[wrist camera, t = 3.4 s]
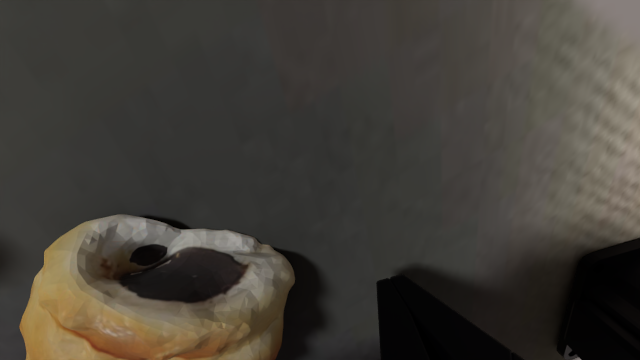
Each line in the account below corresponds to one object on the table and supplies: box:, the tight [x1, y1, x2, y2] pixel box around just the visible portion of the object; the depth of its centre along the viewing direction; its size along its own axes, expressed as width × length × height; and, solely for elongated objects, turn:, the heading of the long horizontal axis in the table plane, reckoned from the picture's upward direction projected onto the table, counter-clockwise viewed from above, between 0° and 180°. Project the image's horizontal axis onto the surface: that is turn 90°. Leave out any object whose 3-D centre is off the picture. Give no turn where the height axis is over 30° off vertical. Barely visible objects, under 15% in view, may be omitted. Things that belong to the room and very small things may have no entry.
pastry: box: [19, 214, 295, 360], centre depth 9 cm, size 9×7×4 cm
